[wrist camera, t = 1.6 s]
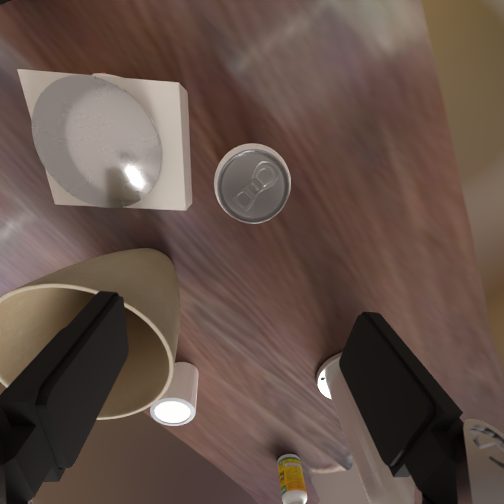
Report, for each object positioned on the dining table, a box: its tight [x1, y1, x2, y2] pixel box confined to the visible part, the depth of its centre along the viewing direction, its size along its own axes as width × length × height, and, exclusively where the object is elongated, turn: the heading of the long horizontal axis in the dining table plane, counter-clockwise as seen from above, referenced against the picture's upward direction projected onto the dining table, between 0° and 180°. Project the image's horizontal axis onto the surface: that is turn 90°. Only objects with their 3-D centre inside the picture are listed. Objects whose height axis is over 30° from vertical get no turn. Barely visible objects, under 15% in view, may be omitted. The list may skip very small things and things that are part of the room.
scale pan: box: [32, 75, 163, 208], centre depth 22 cm, size 11×11×2 cm
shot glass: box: [150, 362, 198, 426], centre depth 39 cm, size 7×7×7 cm
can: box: [214, 143, 291, 224], centre depth 23 cm, size 6×6×12 cm
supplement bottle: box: [278, 454, 307, 504], centre depth 51 cm, size 5×5×10 cm
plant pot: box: [0, 248, 180, 420], centre depth 26 cm, size 15×15×16 cm
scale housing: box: [17, 69, 192, 211], centre depth 25 cm, size 14×12×4 cm
